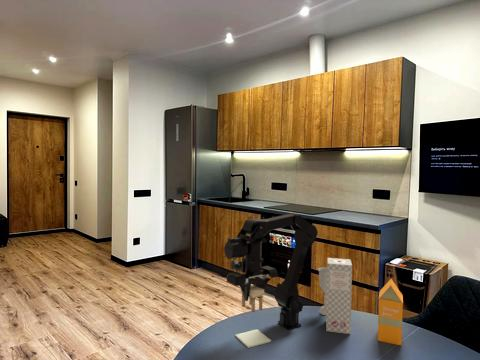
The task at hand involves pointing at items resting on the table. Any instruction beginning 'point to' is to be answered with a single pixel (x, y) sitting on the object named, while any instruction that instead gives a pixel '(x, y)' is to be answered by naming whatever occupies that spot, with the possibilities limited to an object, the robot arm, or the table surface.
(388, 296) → the orange juice
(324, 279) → the chalice
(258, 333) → the mat
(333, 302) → the box
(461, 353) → the table surface
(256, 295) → the tan block with pegs
